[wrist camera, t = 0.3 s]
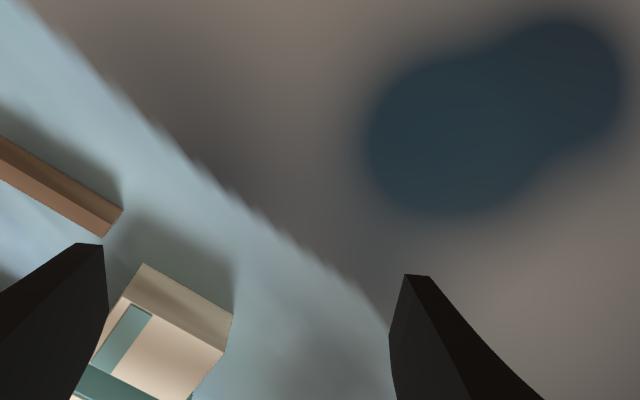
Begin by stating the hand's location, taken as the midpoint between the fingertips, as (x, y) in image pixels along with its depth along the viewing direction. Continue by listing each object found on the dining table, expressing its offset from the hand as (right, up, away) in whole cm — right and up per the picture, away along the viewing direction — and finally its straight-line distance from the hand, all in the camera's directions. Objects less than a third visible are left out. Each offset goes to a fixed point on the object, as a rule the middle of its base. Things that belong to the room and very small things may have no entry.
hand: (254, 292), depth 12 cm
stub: (-6, -3, +13) cm, 15 cm away
